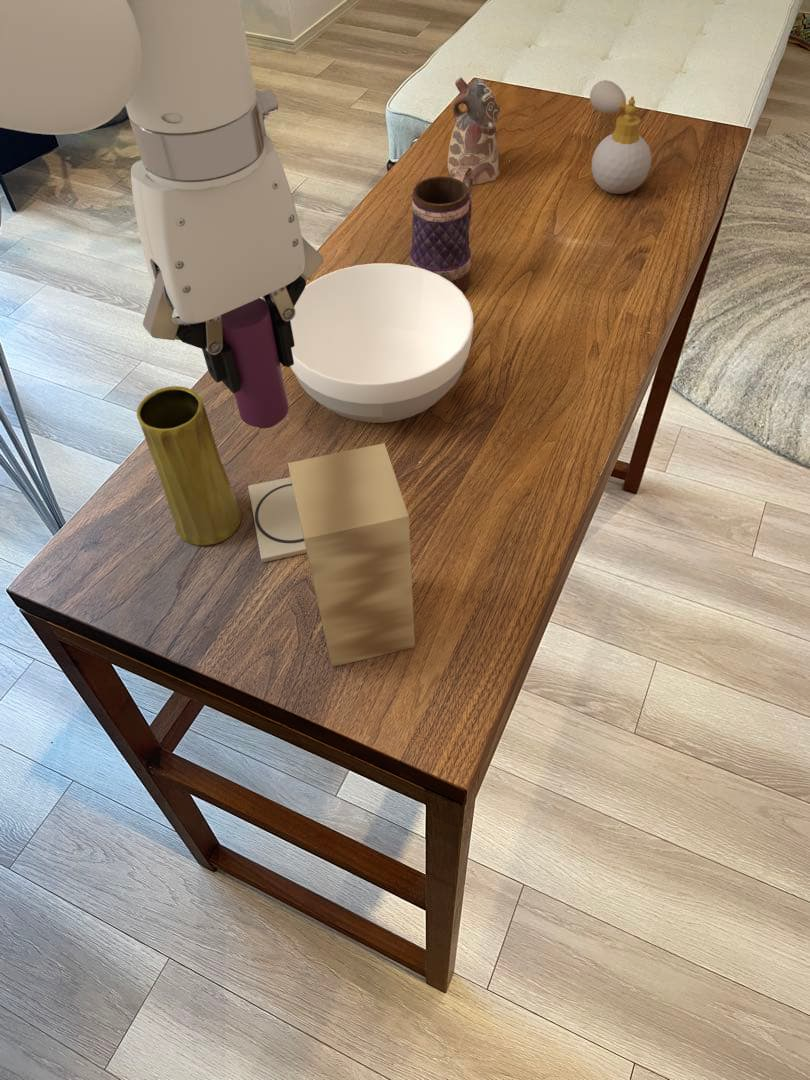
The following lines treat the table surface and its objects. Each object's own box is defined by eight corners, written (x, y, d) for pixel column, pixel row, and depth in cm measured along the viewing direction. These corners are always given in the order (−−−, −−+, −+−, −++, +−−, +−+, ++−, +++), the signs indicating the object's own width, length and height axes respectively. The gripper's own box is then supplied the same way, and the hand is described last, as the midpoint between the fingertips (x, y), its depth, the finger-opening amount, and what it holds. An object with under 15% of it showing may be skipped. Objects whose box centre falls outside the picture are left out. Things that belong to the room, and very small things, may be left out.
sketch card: (262, 562, 74) (260, 558, 73) (249, 489, 79) (247, 484, 79) (382, 536, 75) (381, 532, 75) (361, 466, 81) (360, 461, 80)
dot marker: (245, 439, 67) (216, 333, 59) (239, 406, 70) (211, 299, 61) (293, 429, 68) (272, 322, 59) (286, 396, 70) (264, 290, 62)
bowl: (256, 412, 86) (240, 345, 79) (354, 312, 96) (347, 244, 89) (414, 477, 80) (411, 410, 73) (502, 363, 89) (507, 294, 82)
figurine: (488, 189, 111) (492, 96, 101) (439, 179, 113) (439, 87, 103) (507, 163, 115) (512, 72, 105) (459, 154, 117) (460, 63, 107)
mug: (451, 307, 96) (452, 211, 86) (399, 289, 98) (394, 193, 88) (493, 262, 101) (499, 166, 91) (442, 246, 103) (443, 151, 94)
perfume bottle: (632, 209, 107) (651, 114, 97) (563, 190, 110) (574, 96, 101) (654, 181, 111) (673, 87, 101) (586, 164, 114) (599, 72, 104)
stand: (331, 667, 67) (304, 538, 54) (316, 598, 72) (287, 462, 58) (415, 647, 68) (409, 516, 55) (395, 580, 72) (384, 442, 59)
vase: (236, 546, 75) (200, 434, 64) (170, 547, 75) (122, 435, 64) (246, 495, 79) (213, 381, 68) (182, 496, 79) (139, 382, 68)
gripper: (286, 72, 55) (319, 304, 69) (44, 156, 49) (135, 389, 64) (349, 114, 51) (370, 350, 65) (95, 210, 45) (179, 445, 60)
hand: (254, 367), depth 64 cm, fingers closed on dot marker, 4 cm apart
